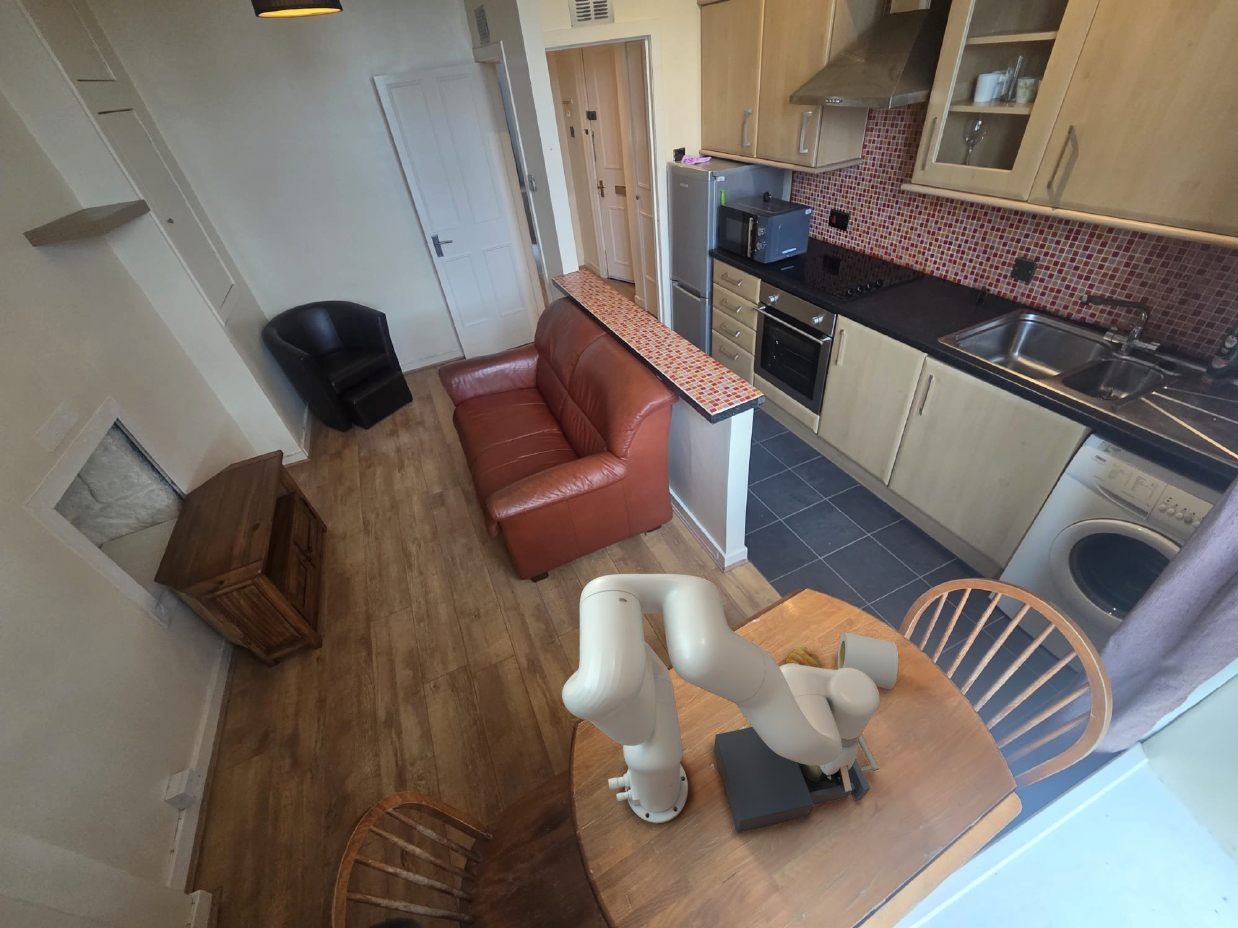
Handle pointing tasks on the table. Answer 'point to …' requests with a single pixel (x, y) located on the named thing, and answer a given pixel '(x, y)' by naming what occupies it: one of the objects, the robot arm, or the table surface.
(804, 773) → the paper roll
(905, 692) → the table surface
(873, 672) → the toilet paper
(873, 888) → the table surface
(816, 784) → the drawer
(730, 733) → the cabinet
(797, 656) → the pastry
